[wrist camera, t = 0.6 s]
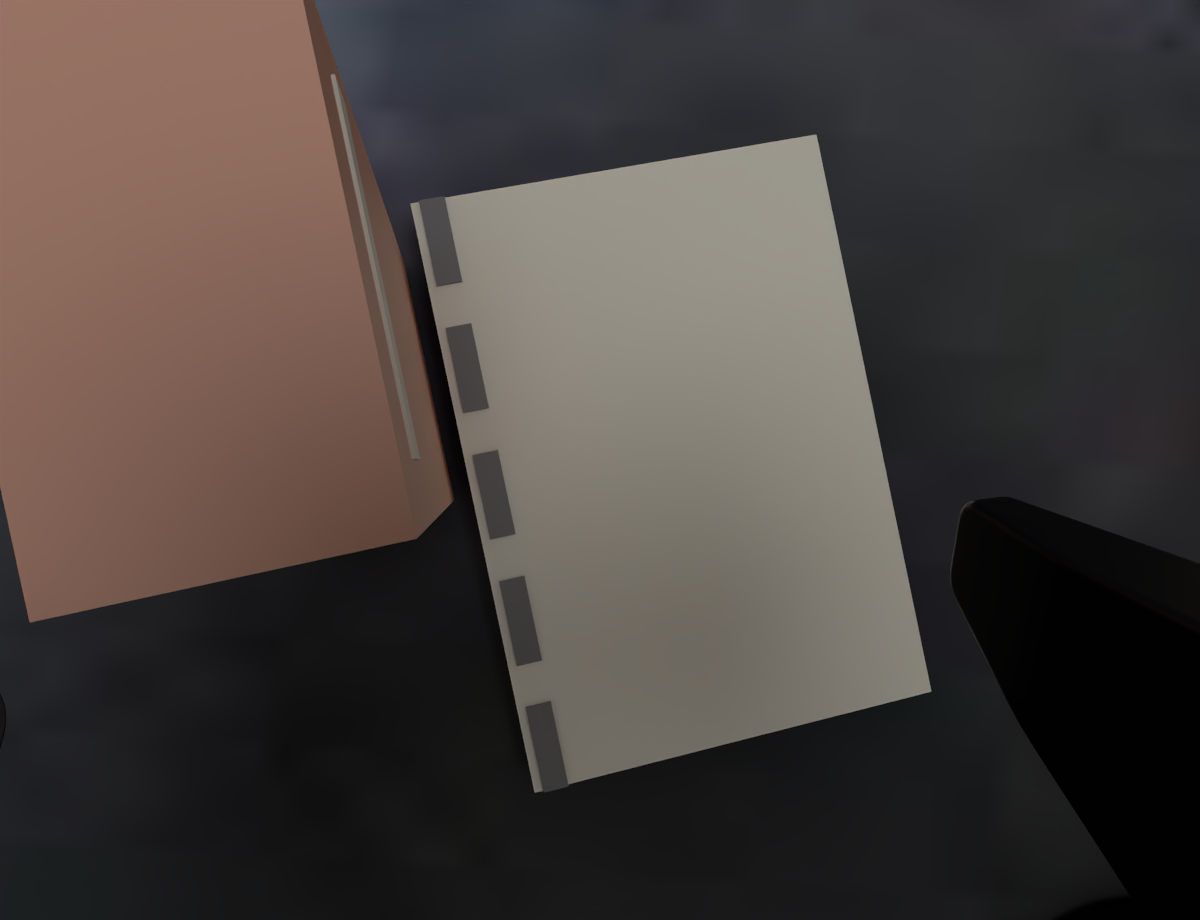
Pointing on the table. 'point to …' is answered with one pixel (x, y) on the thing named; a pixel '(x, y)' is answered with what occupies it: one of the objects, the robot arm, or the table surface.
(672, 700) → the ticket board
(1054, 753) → the robot arm
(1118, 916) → the ink bottle
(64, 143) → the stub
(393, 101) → the table surface
